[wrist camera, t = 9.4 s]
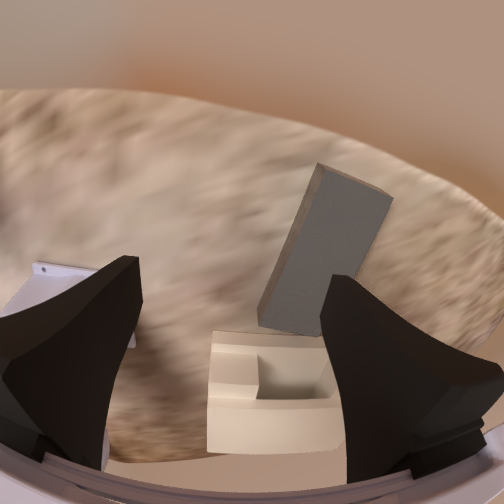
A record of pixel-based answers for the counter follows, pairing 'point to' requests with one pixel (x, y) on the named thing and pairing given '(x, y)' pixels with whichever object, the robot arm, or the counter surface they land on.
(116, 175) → the counter surface
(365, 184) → the gray block
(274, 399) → the slotted box
